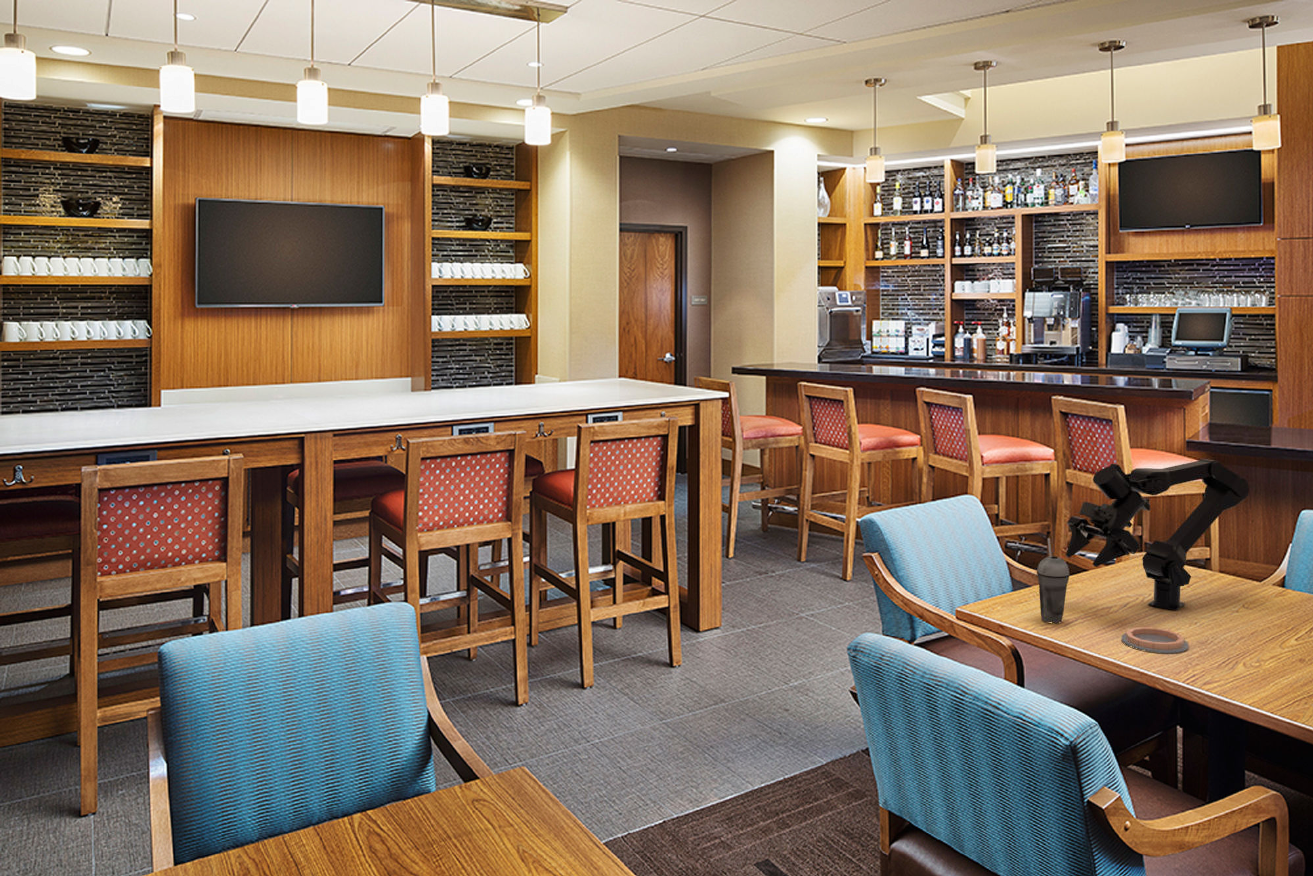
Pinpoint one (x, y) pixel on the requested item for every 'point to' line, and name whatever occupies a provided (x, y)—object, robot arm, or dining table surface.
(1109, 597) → the dining table surface
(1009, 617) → the dining table surface
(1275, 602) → the dining table surface
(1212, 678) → the dining table surface
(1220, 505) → the robot arm
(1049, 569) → the beverage cup
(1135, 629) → the cup holder
